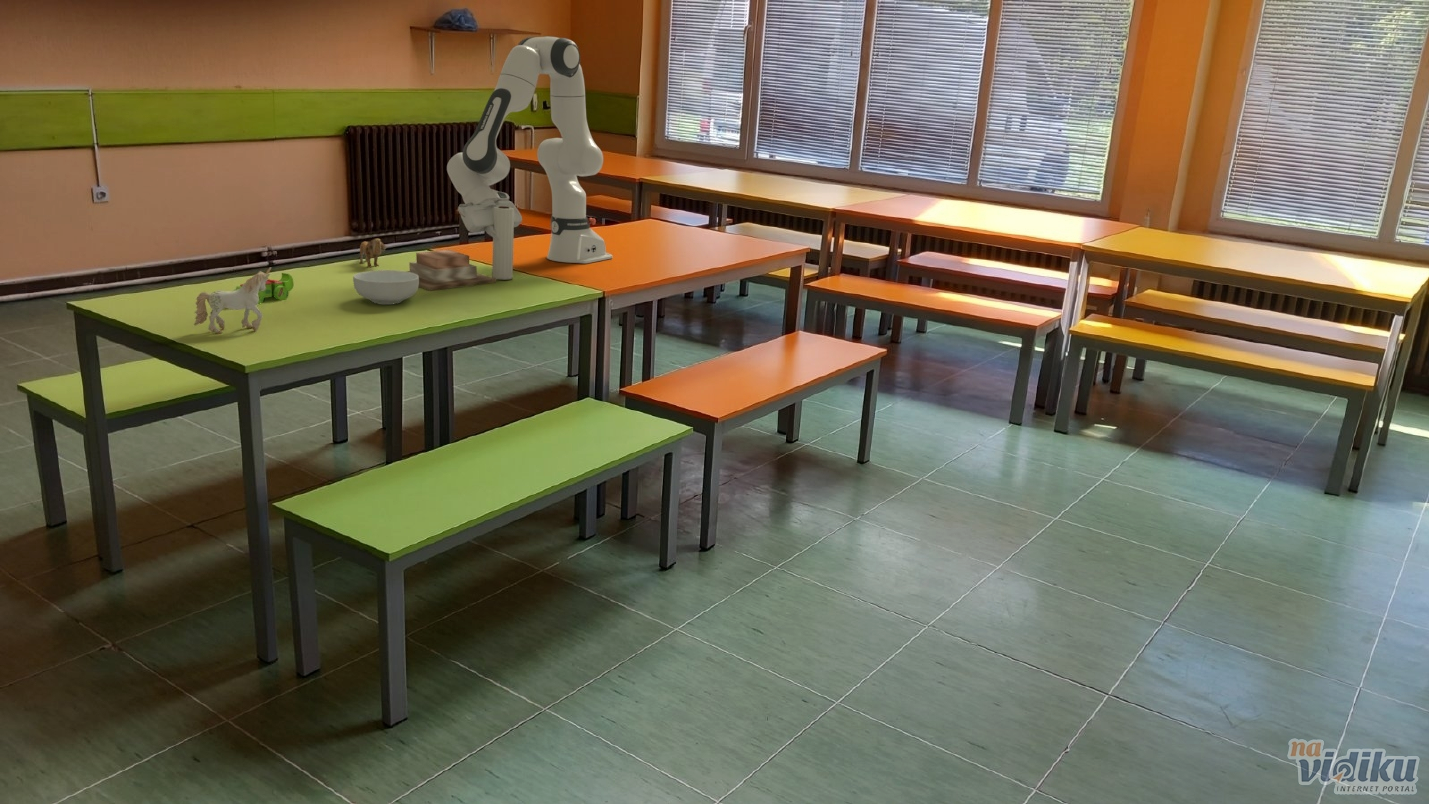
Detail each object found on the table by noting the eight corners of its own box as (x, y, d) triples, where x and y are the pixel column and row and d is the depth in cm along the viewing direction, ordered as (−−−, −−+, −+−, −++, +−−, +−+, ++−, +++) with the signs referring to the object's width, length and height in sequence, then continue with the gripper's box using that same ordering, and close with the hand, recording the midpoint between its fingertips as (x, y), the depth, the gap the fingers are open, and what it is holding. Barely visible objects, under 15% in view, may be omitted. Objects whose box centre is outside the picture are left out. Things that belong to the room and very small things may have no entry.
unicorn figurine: (288, 327, 253) (284, 272, 249) (206, 339, 239) (200, 281, 235) (275, 320, 257) (271, 267, 253) (193, 332, 244) (187, 275, 240)
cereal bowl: (432, 301, 286) (432, 275, 284) (385, 311, 272) (384, 285, 270) (388, 291, 294) (387, 266, 292) (340, 301, 280) (339, 275, 278)
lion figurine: (389, 268, 323) (388, 238, 320) (373, 269, 319) (372, 240, 316) (365, 259, 332) (364, 231, 329) (349, 261, 329) (348, 232, 326)
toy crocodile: (237, 309, 266) (234, 286, 264) (220, 305, 269) (218, 281, 267) (301, 296, 282) (300, 274, 280) (285, 293, 286) (283, 270, 284)
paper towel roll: (498, 280, 313) (499, 208, 307) (488, 276, 318) (489, 205, 311) (519, 279, 318) (521, 208, 311) (509, 275, 322) (511, 205, 316)
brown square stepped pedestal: (455, 269, 327) (454, 245, 324) (495, 282, 312) (495, 257, 310) (390, 276, 312) (389, 251, 309) (430, 290, 297) (429, 264, 295)
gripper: (460, 198, 305) (484, 236, 303) (511, 193, 322) (534, 229, 319) (450, 211, 309) (473, 249, 307) (501, 206, 325) (523, 242, 323)
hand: (505, 239), depth 313 cm, fingers closed on paper towel roll, 3 cm apart
